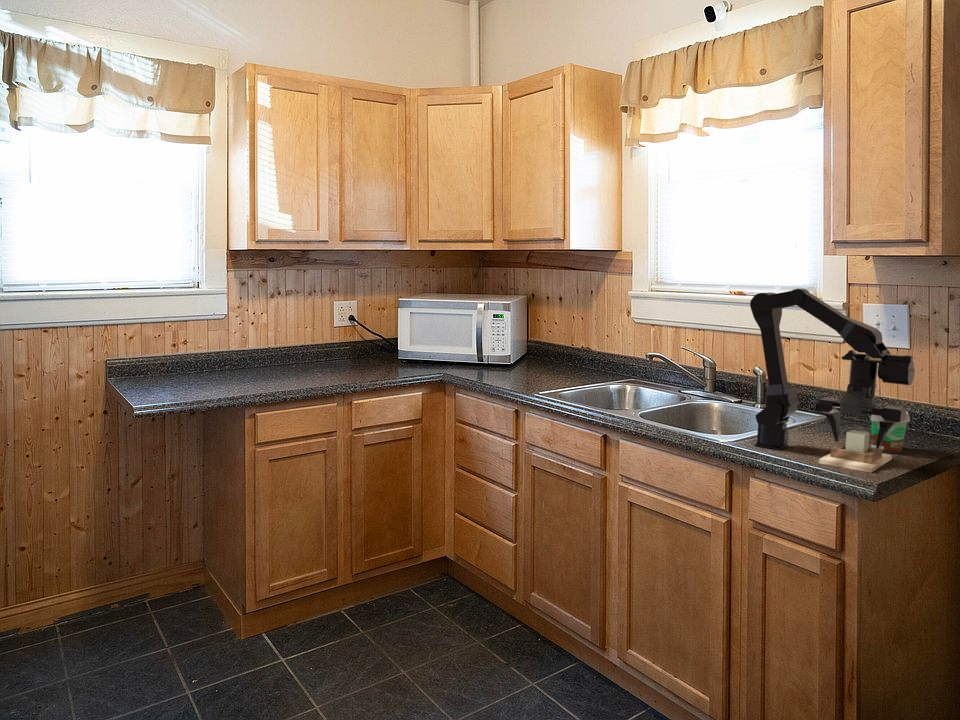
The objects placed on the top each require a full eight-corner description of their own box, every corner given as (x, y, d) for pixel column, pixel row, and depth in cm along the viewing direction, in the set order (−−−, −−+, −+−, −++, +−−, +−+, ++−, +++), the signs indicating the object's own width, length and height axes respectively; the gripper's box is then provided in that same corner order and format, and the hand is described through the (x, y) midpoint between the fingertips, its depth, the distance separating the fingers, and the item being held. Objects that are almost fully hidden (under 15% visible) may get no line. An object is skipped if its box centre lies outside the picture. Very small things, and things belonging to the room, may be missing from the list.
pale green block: (844, 456, 187) (846, 432, 186) (849, 453, 190) (851, 429, 189) (862, 459, 184) (864, 435, 183) (867, 456, 187) (869, 432, 186)
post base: (818, 463, 184) (819, 450, 184) (841, 450, 197) (842, 439, 197) (871, 472, 177) (872, 459, 176) (891, 459, 189) (892, 447, 189)
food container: (892, 456, 192) (895, 416, 191) (867, 451, 197) (870, 412, 196) (916, 450, 199) (920, 411, 198) (891, 445, 204) (895, 407, 203)
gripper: (810, 379, 184) (805, 443, 187) (896, 389, 172) (890, 458, 174) (826, 374, 193) (821, 436, 195) (909, 383, 181) (903, 449, 183)
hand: (857, 444), depth 186 cm, fingers open, 9 cm apart
